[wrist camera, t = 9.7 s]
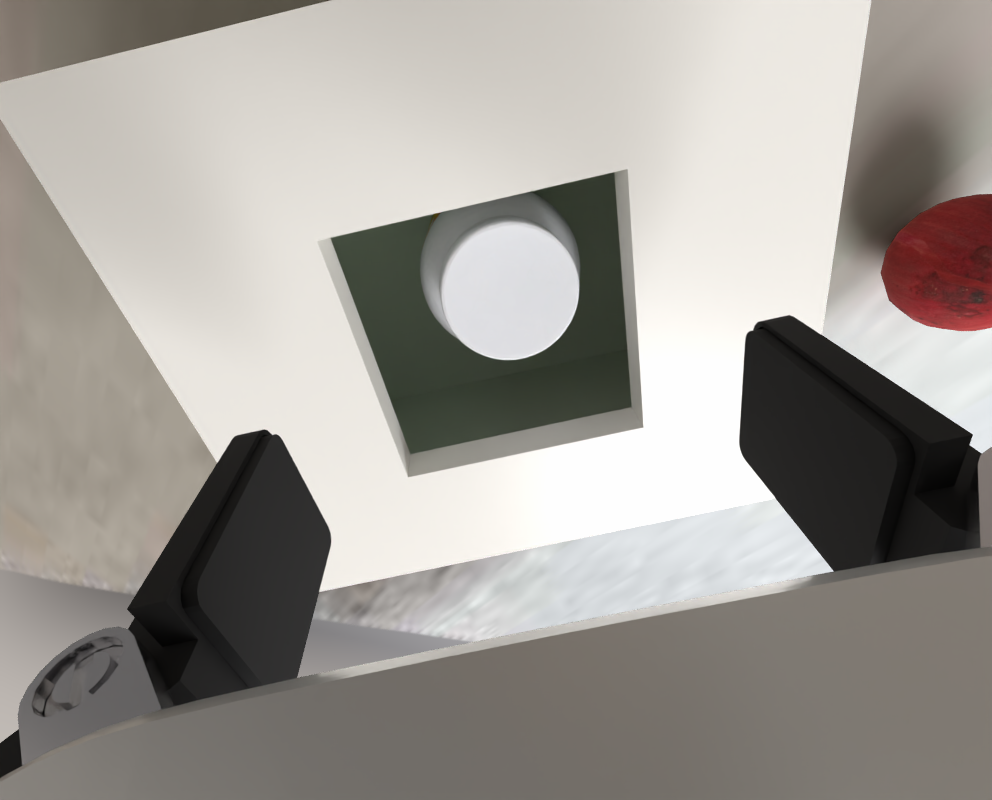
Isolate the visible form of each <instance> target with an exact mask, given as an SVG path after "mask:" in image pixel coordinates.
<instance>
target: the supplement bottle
mask: <svg viewBox="0 0 992 800" xmlns="http://www.w3.org/2000/svg"><path fill="white" fill-rule="evenodd" d="M420 277H421V285H422V289H423V292H424V296H425V299H426V301H427V304H428V306H429V308H430V310H431V311H432V313H433V315H434V316H435V318H436V319H437V320H438V322H439V323H440V324H441V325H442V326H443V327H444V328H445V329H446V330H447V331H448V332H449V333H450V334H452V335H453V336H454V337H456V338H458V339H459V340H460V341H461V342H462V343H463V344H465V345H466V346H467V347H469V348H470V349H471V350H473V351H475V352H477V353H479V354H481V355H484V356H486V357H490V358H494V359H500V360H517V359H523V358H526V357H529V356H532V355H535V354H537V353H539V352H541V351H543V350H545V349H547V348H548V347H549V346H551V345H552V344H553V343H554V342H555V341H557V340H558V339H559V338H560V336H561V335H562V334H563V333H564V332H565V330H566V329H567V327H568V326H569V324H570V322H571V321H572V318H573V316H574V314H575V311H576V308H577V304H578V298H579V280H580V258H579V252H578V247H577V243H576V240H575V237H574V235H573V233H572V231H571V229H570V227H569V225H568V223H567V222H566V220H565V219H564V218H563V217H562V215H561V214H560V213H559V212H558V211H557V210H556V209H555V208H554V207H553V206H552V205H551V204H550V203H548V202H547V201H546V200H544V199H543V198H541V197H540V196H538V195H536V194H534V193H532V192H526V193H522V194H517V195H513V196H509V197H505V198H500V199H496V200H492V201H487V202H483V203H479V204H474V205H470V206H466V207H461V208H457V209H453V210H448V211H444V212H440V213H435V214H433V216H432V219H431V222H430V225H429V228H428V232H427V235H426V238H425V240H424V244H423V248H422V252H421V259H420Z"/></svg>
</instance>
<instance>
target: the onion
mask: <svg viewBox="0 0 992 800" xmlns="http://www.w3.org/2000/svg"><path fill="white" fill-rule="evenodd" d="M881 276H882V279H883V282H884V285H885V289H886V292H887V295H888V298H889V301H890V302H892V303H893V304H894V305H895V306H896V307H897V308H898V309H899V310H901V311H902V312H903V313H905V314H906V315H907V316H909V317H910V318H912V319H913V320H915V321H917V322H919V323H922V324H924V325H926V326H930V327H936V328H942V329H949V330H957V331H976V330H982V329H987V328H991V327H992V194H979V195H972V196H966V197H961V198H955V199H952V200H949V201H946V202H943V203H940V204H938V205H936V206H934V207H932V208H930V209H928V210H926V211H924V212H922V213H920V214H919V215H918V216H916V217H915V218H914V219H913V220H912V221H910V222H909V223H908V224H907V225H906V226H905V227H904V228H902V229H901V230H900V231H899V232H898V233H897V235H896V236H895V238H894V239H893V241H892V243H891V244H890V246H889V247H888V249H887V251H886V254H885V258H884V262H883V266H882V270H881Z"/></svg>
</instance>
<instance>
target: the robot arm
mask: <svg viewBox="0 0 992 800" xmlns="http://www.w3.org/2000/svg"><path fill="white" fill-rule="evenodd" d="M972 436H973V434H971V433H970V432H968V431H967V430H965V429H964V428H962V427H961V426H959V425H957V424H956V423H954V422H953V421H951V420H950V419H948V418H947V417H945V416H944V415H942V414H941V413H939V412H938V411H936V410H935V409H933V408H932V407H930V406H929V405H927V404H926V403H924V402H923V401H921V400H920V399H918V398H916V397H915V396H913V395H912V394H910V393H909V392H907V391H906V390H904V389H903V388H901V387H900V386H898V385H897V384H895V383H894V382H892V381H891V380H889V379H888V378H886V377H885V376H883V375H882V374H880V373H879V372H877V371H876V370H874V369H872V368H871V367H869V366H868V365H866V364H865V363H863V362H862V361H860V360H859V359H857V358H856V357H854V356H853V355H851V354H850V353H848V352H847V351H845V350H844V349H842V348H841V347H839V346H838V345H836V344H835V343H833V342H831V341H830V340H828V339H827V338H825V337H824V336H822V335H821V334H819V333H818V332H816V331H815V330H813V329H812V328H810V327H809V326H807V325H806V324H804V323H803V322H801V321H800V320H798V319H797V318H795V317H793V316H791V315H787V316H782V317H778V318H773V319H768V320H764V321H759V322H757V323H756V324H755V326H754V329H753V331H749V332H748V333H747V335H746V338H745V351H744V367H743V384H742V400H741V417H740V433H739V446H740V451H741V454H742V456H743V458H744V459H745V461H746V462H747V463H748V464H749V466H750V467H751V468H752V469H753V471H754V472H755V473H756V474H757V476H758V477H759V478H760V479H761V481H762V482H763V483H764V484H765V486H766V487H767V488H768V489H769V491H770V492H771V493H772V494H773V496H774V497H775V498H776V499H777V501H778V502H779V503H780V504H781V506H782V507H783V508H784V509H785V511H786V512H787V513H788V514H789V516H790V517H791V518H792V519H793V521H794V522H795V523H796V524H797V526H798V527H799V528H800V529H801V531H802V532H803V533H804V534H805V536H806V537H807V538H808V539H809V541H810V542H811V543H812V544H813V546H814V547H815V548H816V549H817V551H818V552H819V553H820V554H821V556H822V557H823V558H824V559H825V561H826V562H827V563H828V564H829V566H830V567H831V568H832V569H833V571H834V572H829V573H824V574H818V575H813V576H808V577H803V578H798V579H792V580H787V581H782V582H777V583H772V584H767V585H761V586H756V587H751V588H746V589H741V590H735V591H730V592H725V593H720V594H715V595H709V596H704V597H699V598H694V599H689V600H684V601H678V602H673V603H668V604H663V605H658V606H652V607H647V608H642V609H637V610H632V611H627V612H622V613H617V614H612V615H607V616H602V617H597V618H592V619H587V620H582V621H577V622H571V623H566V624H561V625H556V626H551V627H546V628H541V629H536V630H531V631H526V632H521V633H516V634H511V635H506V636H501V637H496V638H491V639H486V640H481V641H476V642H471V643H467V644H461V645H457V646H451V647H447V648H442V649H437V650H432V651H427V652H422V653H417V654H412V655H407V656H402V657H397V658H393V659H388V660H383V661H378V662H373V663H368V664H364V665H358V666H354V667H348V668H343V669H339V670H334V671H329V672H324V673H319V674H314V675H309V676H305V677H300V678H297V676H298V672H299V668H300V664H301V659H302V656H303V652H304V648H305V644H306V640H307V637H308V633H309V629H310V625H311V621H312V617H313V613H314V610H315V606H316V602H317V598H318V594H319V590H320V586H321V582H322V578H323V575H324V571H325V567H326V563H327V559H328V555H329V551H330V547H331V533H330V530H329V527H328V525H327V523H326V521H325V519H324V518H323V516H322V514H321V512H320V510H319V508H318V506H317V504H316V502H315V500H314V499H313V497H312V495H311V493H310V491H309V489H308V487H307V485H306V483H305V482H304V480H303V478H302V476H301V474H300V472H299V470H298V468H297V466H296V465H295V463H294V461H293V459H292V457H291V455H290V453H289V451H288V449H287V447H286V446H285V444H284V442H283V440H282V439H281V437H280V436H279V435H277V434H274V435H272V434H271V433H270V432H269V431H268V430H265V429H264V430H259V431H254V432H250V433H245V434H241V435H237V436H235V437H234V438H233V439H232V440H231V442H230V443H229V445H228V447H227V448H226V450H225V452H224V453H223V455H222V456H221V458H220V460H219V461H218V463H217V464H216V466H215V468H214V469H213V471H212V473H211V474H210V476H209V477H208V479H207V481H206V482H205V484H204V486H203V487H202V489H201V490H200V492H199V494H198V495H197V497H196V498H195V500H194V502H193V503H192V505H191V507H190V508H189V510H188V511H187V513H186V515H185V516H184V518H183V519H182V521H181V523H180V524H179V526H178V528H177V529H176V531H175V532H174V534H173V536H172V537H171V539H170V541H169V542H168V544H167V545H166V547H165V549H164V550H163V552H162V553H161V555H160V557H159V558H158V560H157V562H156V563H155V565H154V566H153V568H152V570H151V571H150V573H149V574H148V576H147V578H146V579H145V581H144V583H143V584H142V586H141V587H140V589H139V591H138V592H137V594H136V596H135V597H134V599H133V600H132V602H131V604H130V605H129V607H128V609H127V610H128V611H129V612H130V613H131V614H132V615H133V616H134V617H135V618H134V620H133V622H132V623H131V625H130V627H129V628H128V629H126V628H121V627H112V628H105V629H102V630H99V631H97V632H94V633H91V634H89V635H87V636H85V637H84V638H82V639H80V640H78V641H77V642H75V643H73V644H71V645H70V646H69V647H68V648H66V649H65V650H64V651H62V652H61V653H60V654H58V655H57V656H56V657H55V658H53V660H51V661H50V662H49V663H48V664H47V665H46V666H45V667H44V668H43V669H42V670H41V671H40V672H39V674H38V675H37V676H36V677H35V679H34V680H33V682H32V683H31V684H30V685H29V687H28V688H27V690H26V692H25V694H24V696H23V698H22V700H21V702H20V706H19V712H18V724H19V729H18V730H17V731H16V732H14V733H13V734H12V735H10V736H9V737H8V738H6V739H5V740H4V741H2V742H1V743H0V800H992V447H991V448H989V449H988V450H987V451H985V452H984V453H982V454H981V453H980V452H978V451H977V450H975V449H974V448H973V447H971V446H970V445H969V444H970V441H971V438H972Z"/></svg>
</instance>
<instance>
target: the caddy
mask: <svg viewBox="0 0 992 800" xmlns="http://www.w3.org/2000/svg"><path fill="white" fill-rule="evenodd" d="M870 6H871V0H330V1H326V2H322V3H318V4H314V5H310V6H306V7H302V8H298V9H294V10H290V11H286V12H282V13H278V14H274V15H270V16H266V17H262V18H258V19H254V20H250V21H246V22H242V23H238V24H234V25H230V26H226V27H222V28H218V29H214V30H210V31H206V32H202V33H198V34H194V35H190V36H186V37H182V38H178V39H174V40H170V41H166V42H162V43H158V44H154V45H149V46H145V47H141V48H137V49H133V50H129V51H125V52H121V53H117V54H113V55H109V56H105V57H101V58H97V59H93V60H89V61H85V62H81V63H77V64H73V65H69V66H65V67H61V68H57V69H53V70H49V71H45V72H41V73H37V74H33V75H29V76H25V77H21V78H17V79H13V80H9V81H5V82H1V83H0V119H1V121H2V122H3V124H4V126H5V127H6V129H7V130H8V132H9V134H10V135H11V137H12V138H13V140H14V141H15V143H16V145H17V146H18V148H19V149H20V151H21V153H22V154H23V156H24V157H25V159H26V160H27V162H28V164H29V165H30V167H31V168H32V170H33V172H34V173H35V175H36V176H37V178H38V179H39V181H40V183H41V184H42V186H43V187H44V189H45V191H46V192H47V194H48V195H49V197H50V198H51V200H52V202H53V203H54V205H55V206H56V208H57V210H58V211H59V213H60V214H61V216H62V218H63V219H64V221H65V222H66V224H67V225H68V227H69V229H70V230H71V232H72V233H73V235H74V237H75V238H76V240H77V241H78V243H79V244H80V246H81V248H82V249H83V251H84V252H85V254H86V256H87V257H88V259H89V260H90V262H91V263H92V265H93V267H94V268H95V270H96V271H97V273H98V275H99V276H100V278H101V279H102V281H103V282H104V284H105V286H106V287H107V289H108V290H109V292H110V294H111V295H112V297H113V298H114V300H115V301H116V303H117V305H118V306H119V308H120V309H121V311H122V313H123V314H124V316H125V317H126V319H127V321H128V322H129V324H130V325H131V327H132V328H133V330H134V332H135V333H136V335H137V336H138V338H139V340H140V341H141V343H142V344H143V346H144V347H145V349H146V351H147V352H148V354H149V355H150V357H151V359H152V360H153V362H154V363H155V365H156V366H157V368H158V370H159V371H160V373H161V374H162V376H163V378H164V379H165V381H166V382H167V384H168V385H169V387H170V389H171V390H172V392H173V393H174V395H175V397H176V398H177V400H178V401H179V403H180V404H181V406H182V408H183V409H184V411H185V412H186V414H187V416H188V417H189V419H190V420H191V422H192V423H193V425H194V427H195V428H196V430H197V431H198V433H199V435H200V436H201V438H202V439H203V441H204V443H205V444H206V446H207V447H208V449H209V450H210V452H211V454H212V455H213V457H214V458H215V460H216V462H217V463H218V461H219V460H220V458H221V456H222V455H223V453H224V452H225V450H226V448H227V447H228V445H229V443H230V442H231V440H232V439H233V438H234V437H235V436H237V435H241V434H245V433H250V432H254V431H259V430H264V429H265V430H268V431H269V432H270V433H271V434H272V435H274V434H277V435H279V436H280V437H281V439H282V440H283V442H284V444H285V446H286V447H287V449H288V451H289V453H290V455H291V457H292V459H293V461H294V463H295V465H296V466H297V468H298V470H299V472H300V474H301V476H302V478H303V480H304V482H305V483H306V485H307V487H308V489H309V491H310V493H311V495H312V497H313V499H314V500H315V502H316V504H317V506H318V508H319V510H320V512H321V514H322V516H323V518H324V519H325V521H326V523H327V525H328V527H329V530H330V533H331V547H330V551H329V555H328V559H327V563H326V567H325V571H324V575H323V578H322V582H321V586H320V590H319V592H321V591H326V590H331V589H335V588H340V587H345V586H350V585H355V584H360V583H365V582H370V581H375V580H379V579H384V578H389V577H394V576H399V575H404V574H409V573H414V572H419V571H423V570H428V569H433V568H438V567H443V566H448V565H453V564H458V563H463V562H467V561H472V560H477V559H482V558H487V557H492V556H497V555H502V554H507V553H511V552H516V551H521V550H526V549H531V548H536V547H541V546H546V545H551V544H555V543H560V542H565V541H570V540H575V539H580V538H585V537H590V536H594V535H599V534H604V533H609V532H614V531H619V530H624V529H629V528H634V527H638V526H643V525H648V524H653V523H658V522H663V521H668V520H673V519H678V518H682V517H687V516H692V515H697V514H702V513H707V512H712V511H717V510H722V509H726V508H731V507H736V506H741V505H746V504H751V503H756V502H761V501H766V500H770V499H775V497H774V496H773V494H772V493H771V492H770V491H769V489H768V488H767V487H766V486H765V484H764V483H763V482H762V481H761V479H760V478H759V477H758V476H757V474H756V473H755V472H754V471H753V469H752V468H751V467H750V466H749V464H748V463H747V462H746V461H745V459H744V458H743V456H742V454H741V451H740V446H739V433H740V417H741V400H742V384H743V367H744V351H745V338H746V335H747V333H748V332H749V331H753V329H754V326H755V324H756V323H757V322H759V321H764V320H768V319H773V318H778V317H782V316H787V315H791V316H793V317H795V318H797V319H798V320H800V321H801V322H803V323H804V324H806V325H807V326H809V327H810V328H812V329H813V330H815V331H816V332H818V333H819V334H821V335H822V331H823V324H824V317H825V311H826V304H827V297H828V290H829V284H830V277H831V270H832V263H833V256H834V250H835V243H836V236H837V229H838V223H839V216H840V209H841V202H842V196H843V189H844V182H845V175H846V169H847V162H848V155H849V148H850V141H851V135H852V128H853V121H854V114H855V108H856V101H857V94H858V87H859V81H860V74H861V67H862V60H863V53H864V47H865V40H866V33H867V26H868V20H869V13H870ZM526 192H532V193H534V194H536V195H538V196H540V197H541V198H543V199H544V200H546V201H547V202H548V203H550V204H551V205H552V206H553V207H554V208H555V209H556V210H557V211H558V212H559V213H560V214H561V215H562V217H563V218H564V219H565V220H566V222H567V223H568V225H569V227H570V229H571V231H572V233H573V235H574V237H575V240H576V243H577V247H578V252H579V258H580V280H579V298H578V304H577V308H576V311H575V314H574V316H573V318H572V321H571V322H570V324H569V326H568V327H567V329H566V330H565V332H564V333H563V334H562V335H561V336H560V338H559V339H558V340H557V341H555V342H554V343H553V344H552V345H551V346H549V347H548V348H547V349H545V350H543V351H541V352H539V353H537V354H535V355H532V356H529V357H526V358H523V359H517V360H500V359H494V358H490V357H486V356H484V355H481V354H479V353H477V352H475V351H473V350H471V349H470V348H469V347H467V346H466V345H465V344H463V343H462V342H461V341H460V340H459V339H458V338H456V337H454V336H453V335H452V334H450V333H449V332H448V331H447V330H446V329H445V328H444V327H443V326H442V325H441V324H440V323H439V322H438V320H437V319H436V318H435V316H434V315H433V313H432V311H431V310H430V308H429V306H428V304H427V301H426V299H425V296H424V292H423V289H422V285H421V277H420V259H421V252H422V248H423V244H424V240H425V238H426V235H427V232H428V228H429V225H430V222H431V219H432V216H433V214H435V213H440V212H444V211H448V210H453V209H457V208H461V207H466V206H470V205H474V204H479V203H483V202H487V201H492V200H496V199H500V198H505V197H509V196H513V195H517V194H522V193H526Z"/></svg>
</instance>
